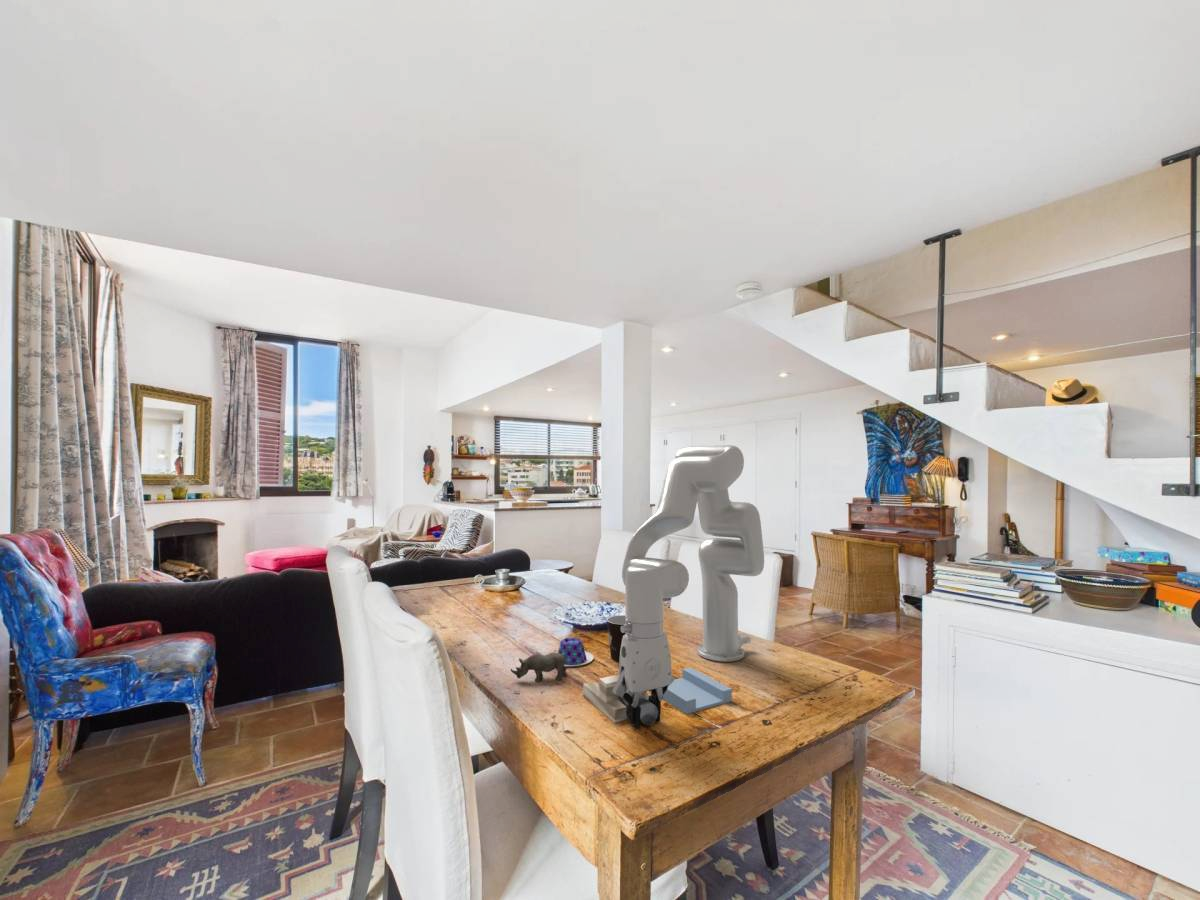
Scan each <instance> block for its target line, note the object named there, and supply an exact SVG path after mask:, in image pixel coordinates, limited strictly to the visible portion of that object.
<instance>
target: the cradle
mask: <svg viewBox="0 0 1200 900" xmlns="http://www.w3.org/2000/svg"><path fill="white" fill-rule="evenodd" d="M681 673H682V677H681V678H676V679H675V678H674V681H673V682H672V684H671V685H670V686H668V689H667V690H666V692H665V693H664V695H663V701H665V702H667V703H669V704H670V705H672V706H673V707H675V708H676V709H678V710H680V711H681V712H682V713H683V714H685V715H689V714H692V713H695V712H696V713H697V712H699V711H702V710H706V709H709V708H713V707H716V706H719V705H724V704H727V703H730V702H732V701H733V689H732V688H731V687H729V686H727V685H725V684H723V683H721V682H719V681H717V680H716V679H714V678H712V677H710V676H708V675H707V674H704V673H703V672H700V671H698V670H696V669H694V668H693V667H691V666H689V667H686V668H683V669H682V672H681Z"/></svg>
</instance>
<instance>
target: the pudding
mask: <svg viewBox="0 0 1200 900" xmlns="http://www.w3.org/2000/svg"><path fill="white" fill-rule="evenodd" d="M584 646H585V645H584V642H583V640H582V639H580V638H577V637H566V638H563V639H561V640H560V643H559V646H558V651H556V652H554V653H561V654H563V655H564V657H565V662H566V663H565V664H564V666H565V667H579V666H583V665H587V664H589V663H591V662H592V661H593V660H594V655H593V654H592V653H590V652H588V651H586V650H585V647H584Z"/></svg>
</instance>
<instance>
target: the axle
mask: <svg viewBox="0 0 1200 900" xmlns="http://www.w3.org/2000/svg"><path fill="white" fill-rule="evenodd" d="M623 690H624V691H625V692H626V691H627V687H626V686H624V688H623ZM618 701H620V702H621V703H622V704H623V705H625V706H626V710H627V711H628V703H627V702H626V701H625V700H624V699H623V698H621V697H619V696H618ZM638 706H639V707H640V723H642V724H643V725H644V726H651V725H653V724H655V722H656V719H657V716H658V709H657V707H656V706H655V705H654V704H653V703H651V702H650V701H649V700H647V699H646V698H644V697H643V696H642V695H640V694H639V700H638Z"/></svg>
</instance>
